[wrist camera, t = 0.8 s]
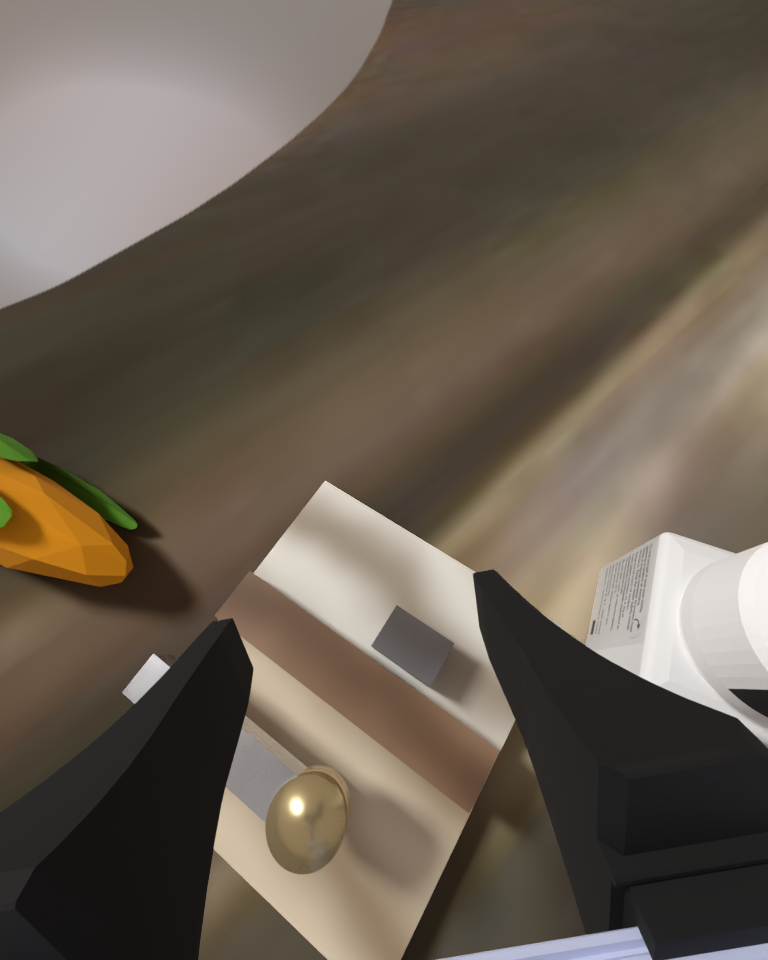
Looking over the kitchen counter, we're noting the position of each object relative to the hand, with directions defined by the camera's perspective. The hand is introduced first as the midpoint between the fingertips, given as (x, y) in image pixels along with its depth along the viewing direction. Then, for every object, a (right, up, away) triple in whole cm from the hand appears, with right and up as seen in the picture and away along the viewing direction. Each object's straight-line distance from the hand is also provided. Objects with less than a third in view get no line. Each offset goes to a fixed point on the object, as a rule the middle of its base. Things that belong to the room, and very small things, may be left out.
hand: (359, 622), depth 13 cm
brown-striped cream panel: (-1, -8, +13) cm, 15 cm away
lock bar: (-6, -8, +8) cm, 13 cm away
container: (+17, -6, +13) cm, 22 cm away
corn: (-23, +1, +18) cm, 29 cm away
